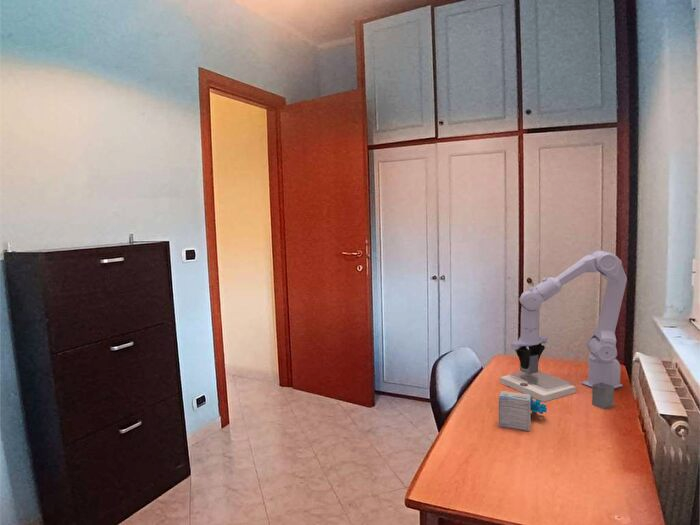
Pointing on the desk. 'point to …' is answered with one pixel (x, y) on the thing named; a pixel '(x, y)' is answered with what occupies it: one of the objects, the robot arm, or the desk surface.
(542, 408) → the gear
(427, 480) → the desk surface
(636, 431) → the desk surface
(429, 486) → the desk surface
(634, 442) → the desk surface
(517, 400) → the medicine box
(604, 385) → the block
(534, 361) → the block
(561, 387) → the kitchen scale
